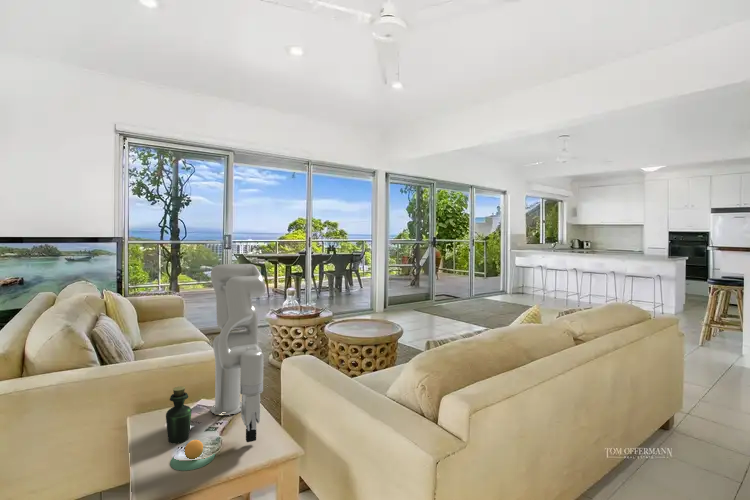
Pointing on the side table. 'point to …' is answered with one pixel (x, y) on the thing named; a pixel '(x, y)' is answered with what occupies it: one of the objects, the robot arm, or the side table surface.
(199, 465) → the disc
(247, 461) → the side table surface
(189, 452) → the ball
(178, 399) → the potion bottle
